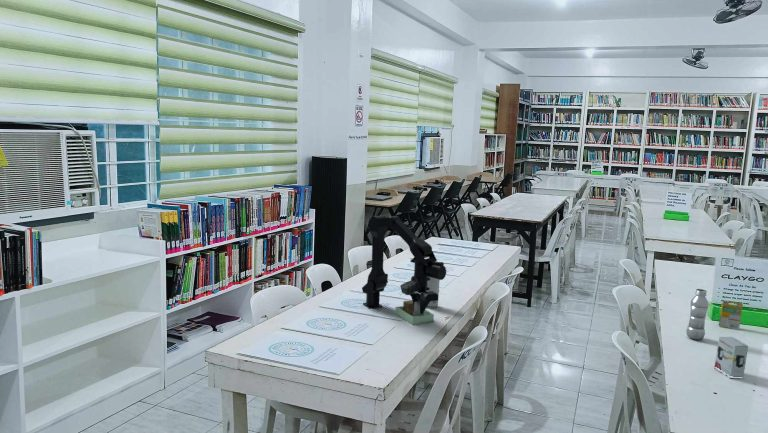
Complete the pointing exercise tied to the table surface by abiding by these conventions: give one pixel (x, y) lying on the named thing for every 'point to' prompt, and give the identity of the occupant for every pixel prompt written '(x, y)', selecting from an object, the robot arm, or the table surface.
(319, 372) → the table surface
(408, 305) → the walnut block
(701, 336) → the plastic bottle
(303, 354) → the table surface
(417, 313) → the grey domed knob
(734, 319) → the crayon box
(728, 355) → the ink box
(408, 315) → the parts tray
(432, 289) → the travel mug
